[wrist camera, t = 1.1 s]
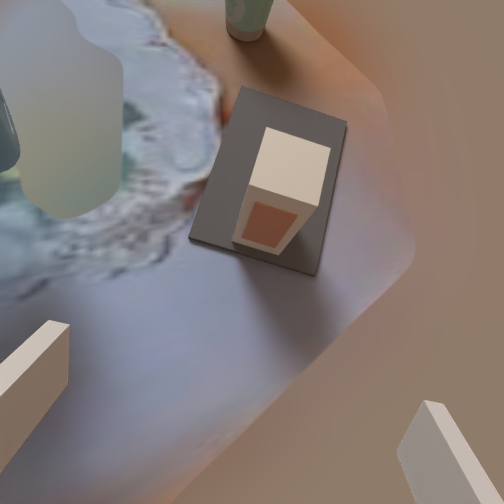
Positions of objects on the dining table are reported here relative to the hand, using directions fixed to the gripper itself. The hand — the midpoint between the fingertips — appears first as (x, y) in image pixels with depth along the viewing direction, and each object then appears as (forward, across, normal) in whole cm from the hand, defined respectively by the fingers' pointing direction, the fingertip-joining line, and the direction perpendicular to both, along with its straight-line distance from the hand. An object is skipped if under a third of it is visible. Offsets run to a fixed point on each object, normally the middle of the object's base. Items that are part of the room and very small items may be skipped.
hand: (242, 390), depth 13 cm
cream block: (+31, +1, -3) cm, 31 cm away
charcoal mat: (+36, +1, +3) cm, 36 cm away
